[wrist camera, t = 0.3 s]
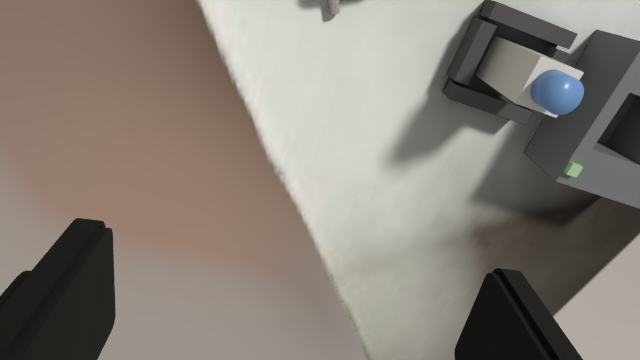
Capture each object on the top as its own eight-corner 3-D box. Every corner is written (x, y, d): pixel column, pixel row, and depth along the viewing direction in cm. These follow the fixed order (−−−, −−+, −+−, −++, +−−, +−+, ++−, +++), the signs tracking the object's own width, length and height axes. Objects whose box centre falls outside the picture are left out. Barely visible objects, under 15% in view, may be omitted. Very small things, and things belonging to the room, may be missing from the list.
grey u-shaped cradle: (482, -3, 37) (492, 0, 35) (566, 30, 38) (580, 35, 36) (438, 90, 40) (445, 97, 38) (517, 117, 41) (528, 125, 40)
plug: (495, 35, 38) (556, 62, 29) (531, 49, 38) (601, 79, 29) (475, 75, 39) (527, 112, 30) (510, 87, 40) (571, 127, 31)
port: (596, 29, 38) (649, 44, 32) (698, 70, 40) (765, 91, 34) (523, 152, 43) (558, 184, 37) (617, 183, 45) (664, 218, 39)
